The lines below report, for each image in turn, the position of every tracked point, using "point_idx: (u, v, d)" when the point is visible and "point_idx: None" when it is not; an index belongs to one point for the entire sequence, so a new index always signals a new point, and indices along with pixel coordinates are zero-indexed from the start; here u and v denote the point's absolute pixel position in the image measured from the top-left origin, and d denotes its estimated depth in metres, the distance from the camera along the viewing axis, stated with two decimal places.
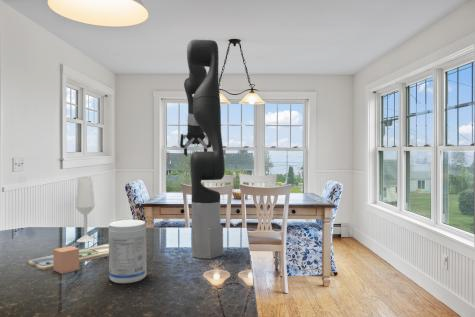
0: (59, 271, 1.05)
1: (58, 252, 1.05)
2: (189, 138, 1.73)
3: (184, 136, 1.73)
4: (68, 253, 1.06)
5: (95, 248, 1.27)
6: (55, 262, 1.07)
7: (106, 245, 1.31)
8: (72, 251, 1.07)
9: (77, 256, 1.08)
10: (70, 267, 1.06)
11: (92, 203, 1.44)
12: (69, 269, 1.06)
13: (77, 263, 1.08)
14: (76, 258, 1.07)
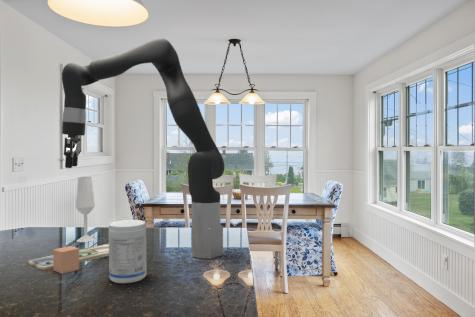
0: (59, 271, 1.05)
1: (58, 252, 1.05)
2: (74, 142, 1.32)
3: None
4: (68, 253, 1.06)
5: (95, 248, 1.27)
6: (55, 262, 1.07)
7: (106, 245, 1.31)
8: (72, 251, 1.07)
9: (77, 256, 1.08)
10: (70, 267, 1.06)
11: (92, 203, 1.44)
12: (69, 269, 1.06)
13: (77, 263, 1.08)
14: (76, 258, 1.07)
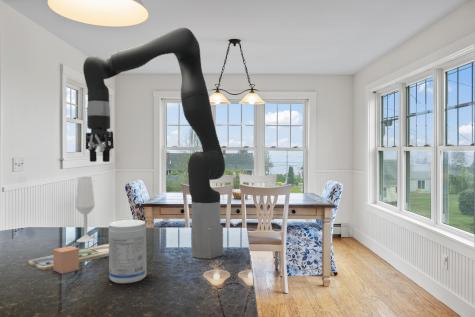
0: (59, 271, 1.05)
1: (58, 252, 1.05)
2: None
3: None
4: (68, 253, 1.06)
5: (95, 248, 1.27)
6: (55, 262, 1.07)
7: (106, 245, 1.31)
8: (72, 251, 1.07)
9: (77, 256, 1.08)
10: (70, 267, 1.06)
11: (92, 203, 1.44)
12: (69, 269, 1.06)
13: (77, 263, 1.08)
14: (76, 258, 1.07)
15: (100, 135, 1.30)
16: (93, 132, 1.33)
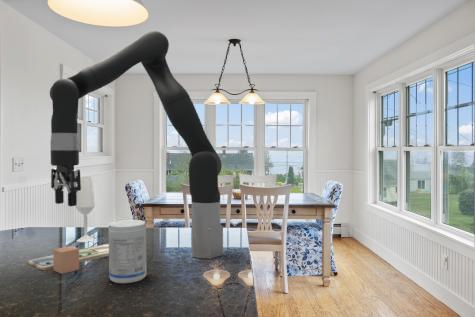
0: (59, 271, 1.05)
1: (58, 252, 1.05)
2: None
3: None
4: (68, 253, 1.06)
5: (95, 248, 1.27)
6: (55, 262, 1.07)
7: (106, 245, 1.31)
8: (72, 251, 1.07)
9: (77, 256, 1.08)
10: (70, 267, 1.06)
11: (92, 203, 1.44)
12: (69, 269, 1.06)
13: (77, 263, 1.08)
14: (76, 258, 1.07)
15: (65, 174, 1.08)
16: (58, 169, 1.11)
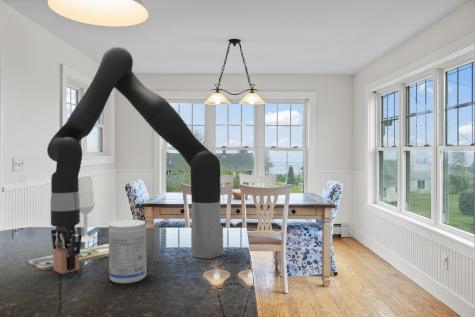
0: (59, 271, 1.05)
1: (58, 252, 1.05)
2: None
3: None
4: None
5: (95, 248, 1.27)
6: (55, 262, 1.07)
7: (106, 245, 1.31)
8: None
9: (77, 256, 1.08)
10: None
11: (92, 203, 1.44)
12: None
13: (77, 263, 1.08)
14: (76, 258, 1.07)
15: (66, 236, 1.05)
16: (59, 228, 1.08)
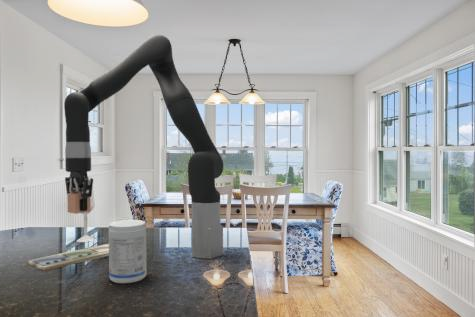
0: (73, 211, 1.18)
1: (72, 195, 1.18)
2: None
3: None
4: None
5: (95, 248, 1.27)
6: (69, 204, 1.20)
7: (106, 245, 1.31)
8: None
9: (89, 199, 1.21)
10: None
11: (92, 203, 1.44)
12: None
13: (88, 206, 1.21)
14: (88, 201, 1.20)
15: (79, 181, 1.18)
16: (72, 175, 1.21)
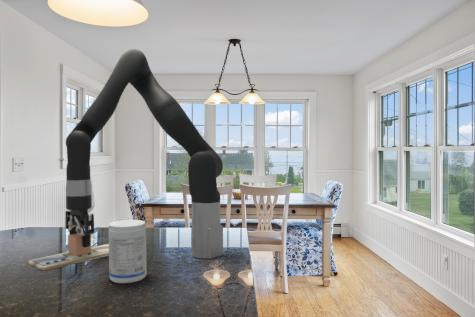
0: (73, 254, 1.18)
1: (72, 237, 1.19)
2: None
3: None
4: None
5: (95, 248, 1.27)
6: (70, 246, 1.20)
7: (106, 245, 1.31)
8: None
9: None
10: (83, 251, 1.19)
11: (92, 203, 1.44)
12: (82, 252, 1.19)
13: (89, 247, 1.21)
14: None
15: (80, 217, 1.18)
16: (73, 212, 1.21)
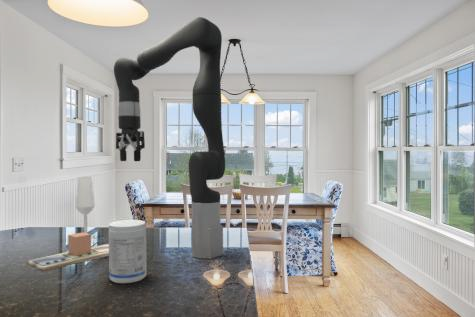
0: (73, 254, 1.18)
1: (72, 237, 1.19)
2: None
3: None
4: (82, 238, 1.19)
5: (95, 248, 1.27)
6: (70, 246, 1.20)
7: (106, 245, 1.31)
8: (85, 236, 1.20)
9: (89, 241, 1.21)
10: (83, 251, 1.19)
11: (92, 203, 1.44)
12: (82, 252, 1.19)
13: (89, 247, 1.21)
14: (88, 243, 1.21)
15: (131, 135, 1.32)
16: (124, 132, 1.35)
